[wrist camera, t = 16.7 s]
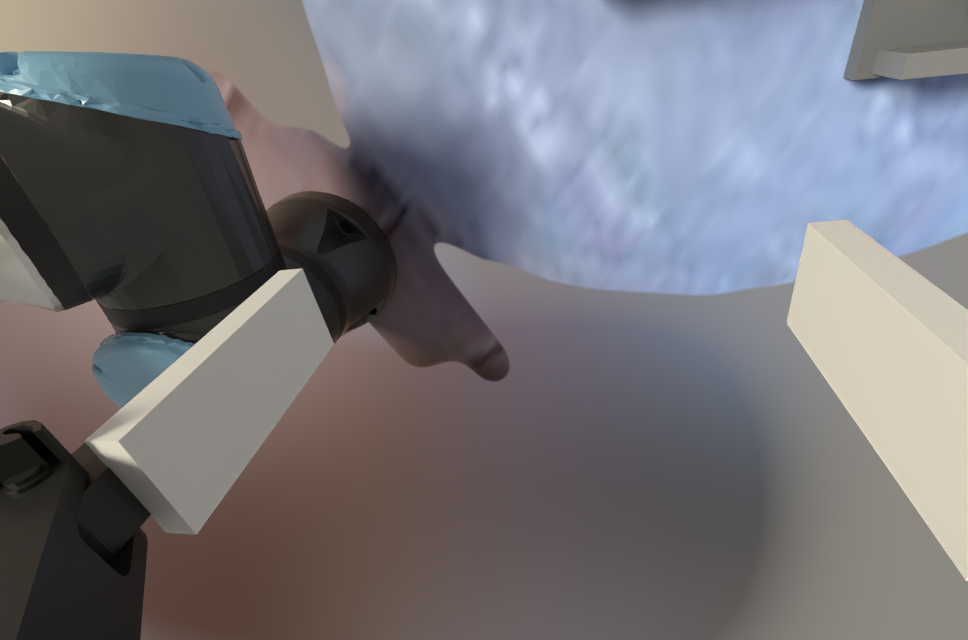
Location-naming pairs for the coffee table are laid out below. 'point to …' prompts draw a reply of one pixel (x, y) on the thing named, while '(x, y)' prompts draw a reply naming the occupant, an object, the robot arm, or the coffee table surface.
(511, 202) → the coffee table surface
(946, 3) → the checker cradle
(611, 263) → the coffee table surface
